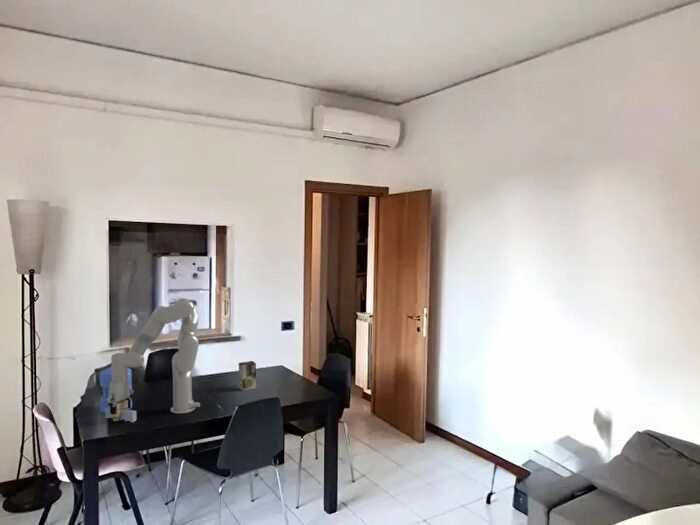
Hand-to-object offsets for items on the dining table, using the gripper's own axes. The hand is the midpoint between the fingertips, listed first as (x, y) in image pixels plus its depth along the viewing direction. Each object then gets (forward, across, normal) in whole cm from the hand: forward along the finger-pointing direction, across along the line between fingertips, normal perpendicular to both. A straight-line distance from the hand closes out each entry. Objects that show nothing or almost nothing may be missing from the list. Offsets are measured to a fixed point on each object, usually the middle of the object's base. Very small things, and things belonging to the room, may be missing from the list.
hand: (120, 411), depth 258 cm
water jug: (+4, -11, -14) cm, 18 cm away
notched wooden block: (+4, 0, 0) cm, 4 cm away
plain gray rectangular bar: (+4, 0, 0) cm, 4 cm away
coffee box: (+5, -69, +32) cm, 76 cm away
